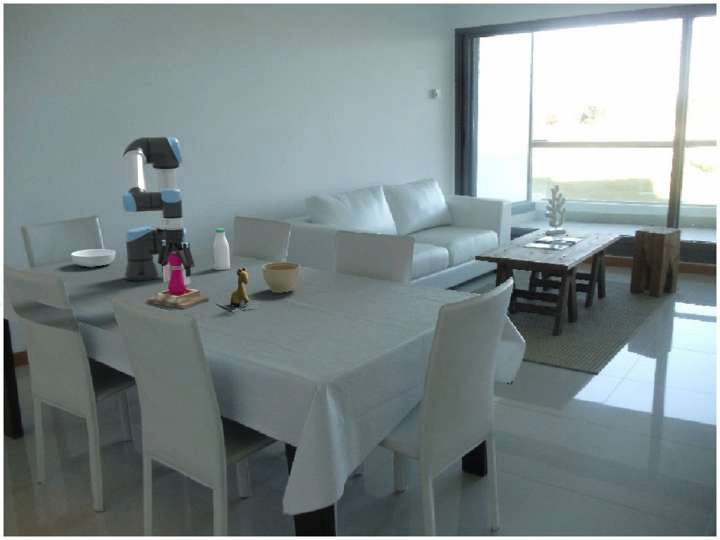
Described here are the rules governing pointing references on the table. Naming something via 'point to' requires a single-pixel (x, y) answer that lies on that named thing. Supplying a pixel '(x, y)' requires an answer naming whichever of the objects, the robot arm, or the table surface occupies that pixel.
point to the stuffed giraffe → (239, 292)
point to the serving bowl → (93, 257)
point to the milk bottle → (221, 251)
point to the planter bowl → (281, 276)
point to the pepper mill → (176, 276)
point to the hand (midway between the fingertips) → (177, 282)
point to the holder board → (178, 299)
